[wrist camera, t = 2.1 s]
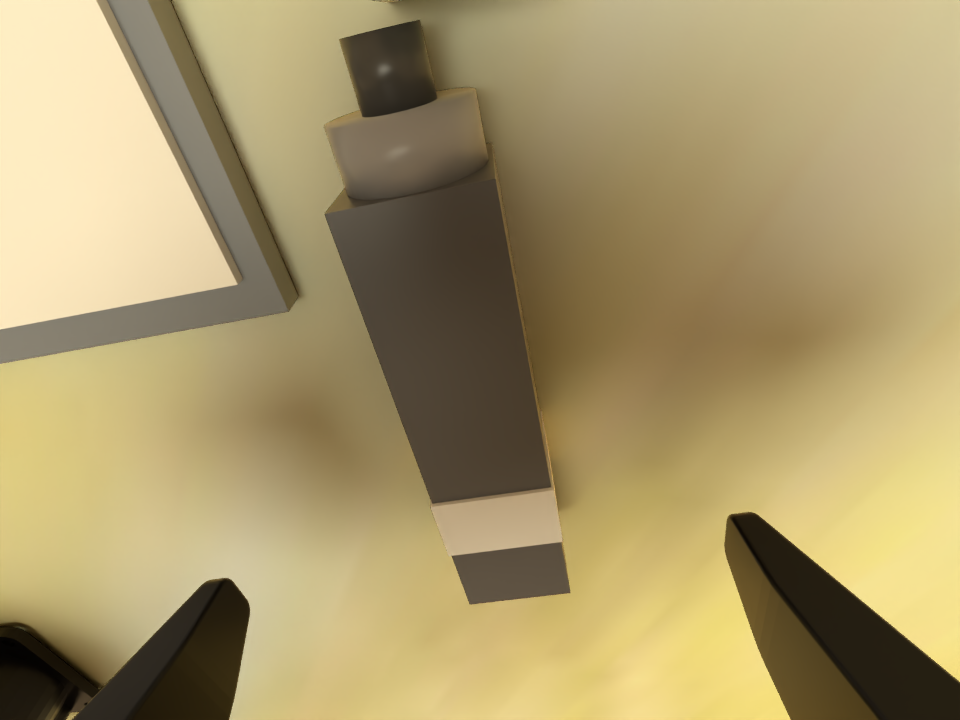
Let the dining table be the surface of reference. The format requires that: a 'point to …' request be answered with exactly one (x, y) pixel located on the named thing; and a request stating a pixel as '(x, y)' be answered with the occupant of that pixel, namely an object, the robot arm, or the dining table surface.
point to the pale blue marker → (387, 0)
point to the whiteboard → (119, 184)
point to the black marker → (446, 312)
